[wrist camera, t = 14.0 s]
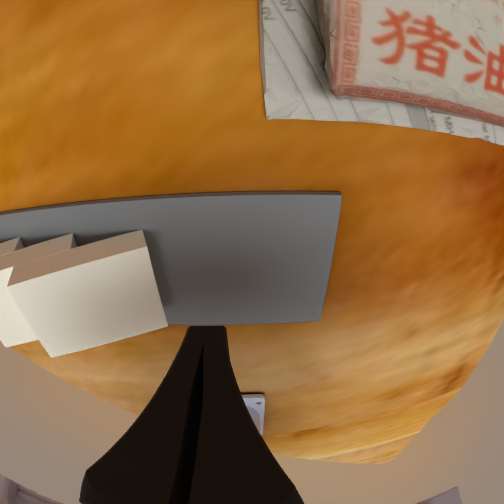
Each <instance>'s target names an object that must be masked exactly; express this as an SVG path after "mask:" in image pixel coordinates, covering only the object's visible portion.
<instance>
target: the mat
mask: <svg viewBox="0 0 504 504" xmlns="http://www.w3.org/2000/svg"><path fill="white" fill-rule="evenodd" d="M341 201H342V194H341V193H340V192H329V191H247V192H212V193H189V194H170V195H154V196H140V197H127V198H115V199H104V200H93V201H84V202H74V203H65V204H57V205H49V206H41V207H34V208H27V209H20V210H13V211H7V212H0V243H3V242H6V241H9V240H12V239H15V238H18V237H20V238H21V240H22V243H23V245H24V248H26V247H29V246H32V245H35V244H38V243H41V242H45V241H48V240H51V239H54V238H58V237H61V236H64V235H68V234H71V233H73V235H74V238H75V241H76V244H77V247H79V246H83V245H86V244H90V243H93V242H97V241H101V240H104V239H108V238H112V237H115V236H119V235H123V234H126V233H130V232H134V231H138V230H143V234H144V237H145V241H146V244H147V248H148V252H149V257H150V261H151V265H152V269H153V273H154V277H155V281H156V285H157V288H158V292H159V296H160V299H161V303H162V307H163V310H164V314H165V317H166V321H167V324H170V325H241V324H274V323H296V322H313V321H320V318H321V314H322V309H323V304H324V300H325V295H326V290H327V285H328V279H329V274H330V269H331V263H332V258H333V252H334V246H335V240H336V234H337V228H338V222H339V215H340V208H341Z"/></svg>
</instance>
